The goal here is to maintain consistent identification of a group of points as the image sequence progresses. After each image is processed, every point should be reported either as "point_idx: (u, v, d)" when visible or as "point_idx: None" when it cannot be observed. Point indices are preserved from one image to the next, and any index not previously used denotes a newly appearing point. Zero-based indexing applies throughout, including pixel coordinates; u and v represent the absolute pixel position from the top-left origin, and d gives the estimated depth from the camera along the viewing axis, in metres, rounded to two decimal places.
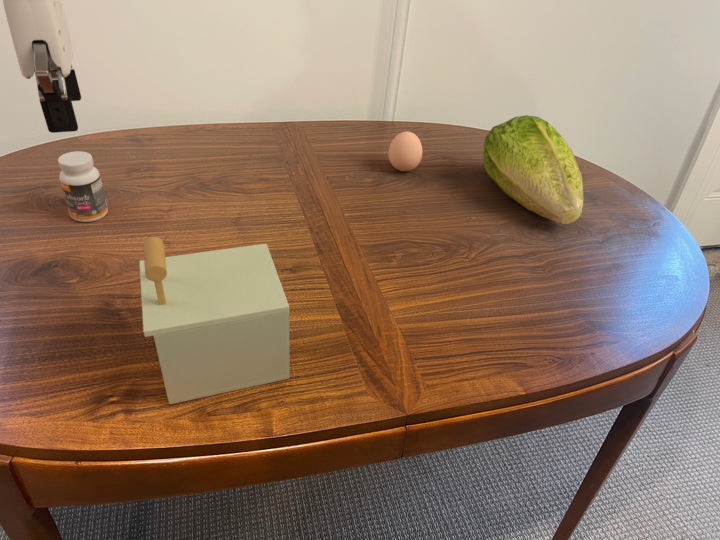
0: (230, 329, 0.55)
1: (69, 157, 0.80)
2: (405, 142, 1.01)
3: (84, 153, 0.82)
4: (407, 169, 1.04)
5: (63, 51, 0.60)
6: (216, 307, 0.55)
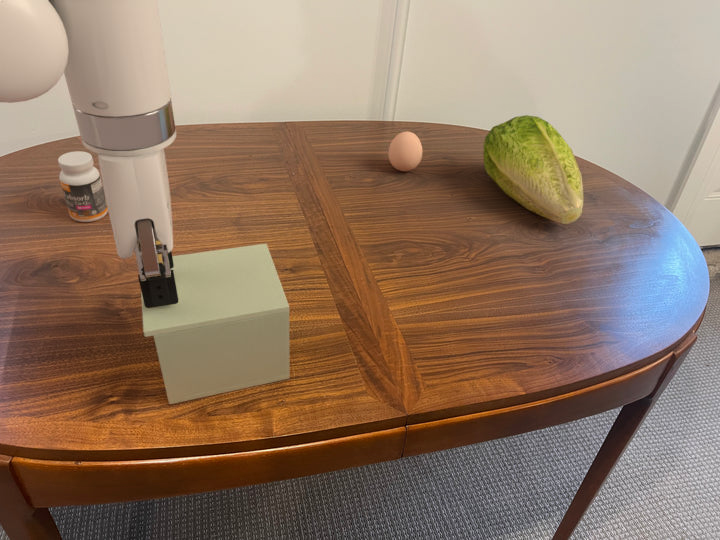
0: (230, 329, 0.55)
1: (69, 157, 0.80)
2: (405, 142, 1.01)
3: (84, 153, 0.82)
4: (407, 169, 1.04)
5: (170, 226, 0.47)
6: (216, 307, 0.55)
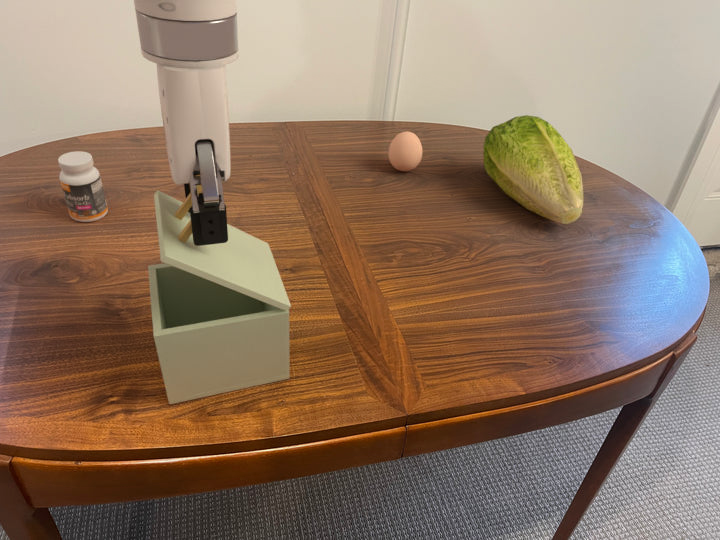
0: (230, 329, 0.55)
1: (69, 157, 0.80)
2: (405, 142, 1.01)
3: (84, 153, 0.82)
4: (407, 169, 1.04)
5: (229, 150, 0.45)
6: (230, 271, 0.53)
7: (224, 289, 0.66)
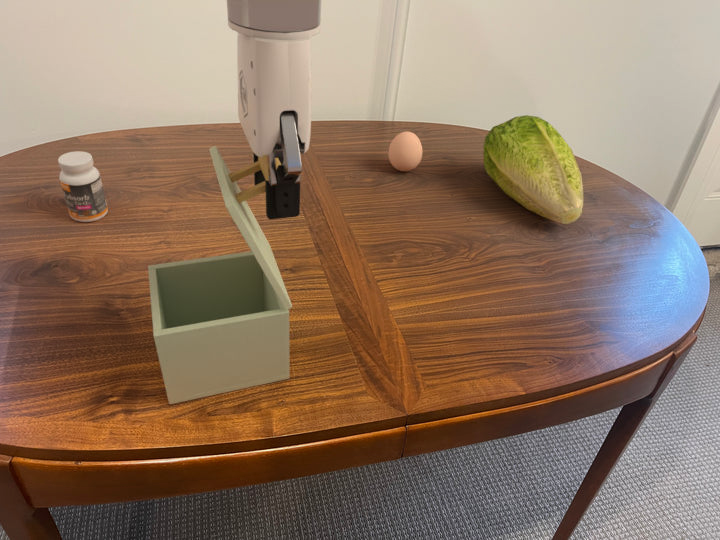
0: (230, 329, 0.55)
1: (69, 157, 0.80)
2: (405, 142, 1.01)
3: (84, 153, 0.82)
4: (407, 169, 1.04)
5: (310, 122, 0.46)
6: (262, 249, 0.53)
7: (224, 289, 0.66)
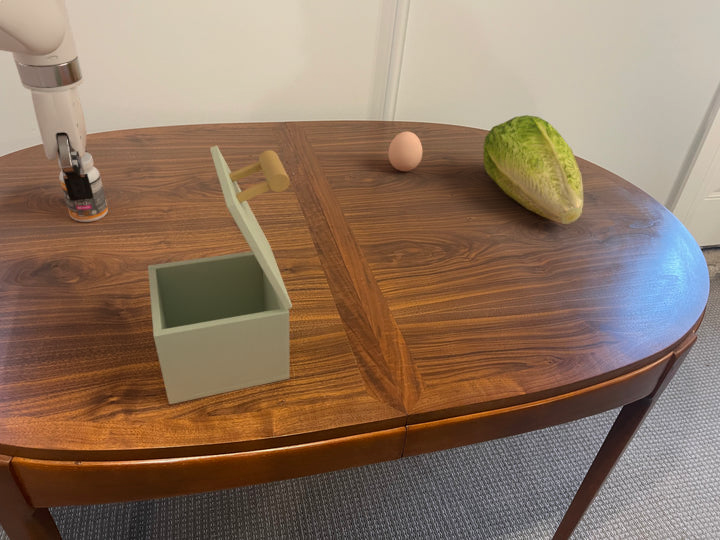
0: (230, 329, 0.55)
1: None
2: (405, 142, 1.01)
3: None
4: (407, 169, 1.04)
5: (80, 139, 0.75)
6: (262, 249, 0.53)
7: (224, 289, 0.66)
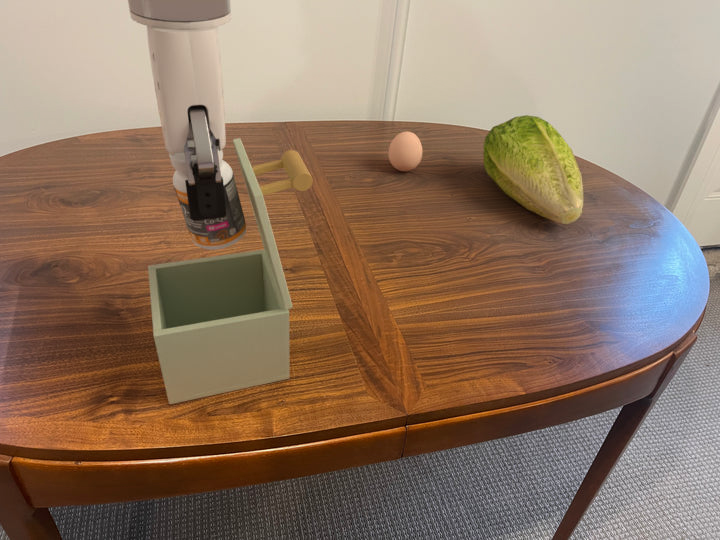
0: (230, 329, 0.55)
1: None
2: (405, 142, 1.01)
3: None
4: (407, 169, 1.04)
5: (224, 117, 0.43)
6: None
7: (224, 289, 0.66)
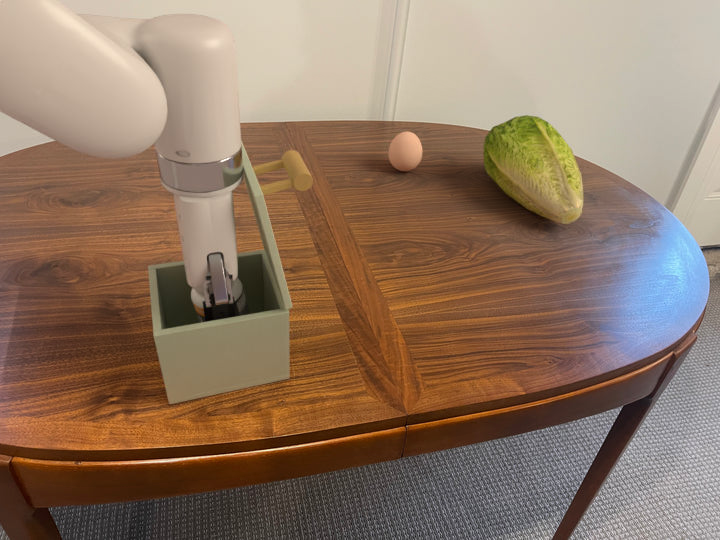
0: (230, 329, 0.55)
1: None
2: (405, 142, 1.01)
3: None
4: (407, 169, 1.04)
5: (236, 257, 0.52)
6: None
7: None
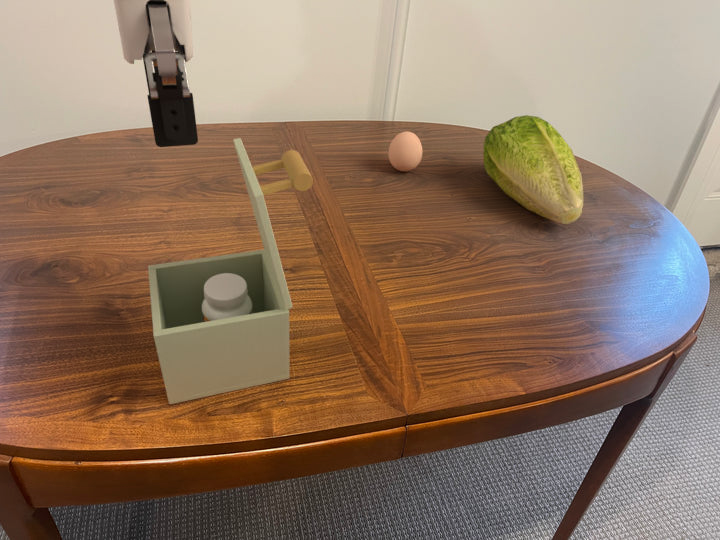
0: (230, 329, 0.55)
1: (217, 285, 0.59)
2: (405, 142, 1.01)
3: (233, 276, 0.61)
4: (407, 169, 1.04)
5: (190, 20, 0.38)
6: None
7: None
